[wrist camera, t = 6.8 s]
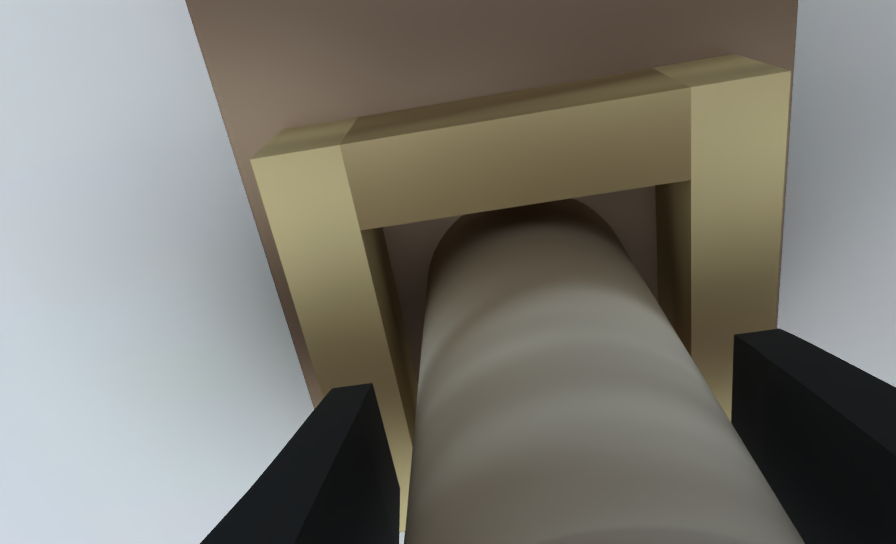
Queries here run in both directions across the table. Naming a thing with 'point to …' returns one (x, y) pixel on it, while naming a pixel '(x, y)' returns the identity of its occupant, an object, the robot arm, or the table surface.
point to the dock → (502, 158)
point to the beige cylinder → (567, 400)
